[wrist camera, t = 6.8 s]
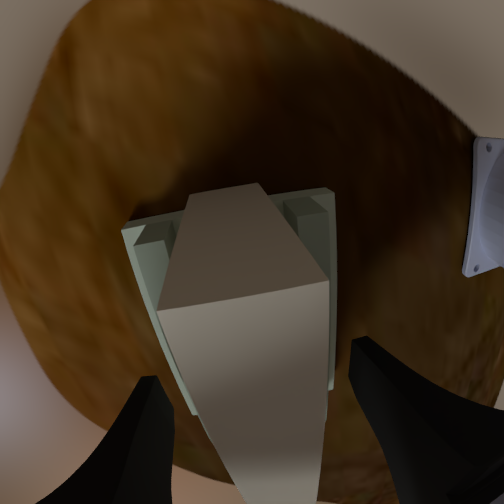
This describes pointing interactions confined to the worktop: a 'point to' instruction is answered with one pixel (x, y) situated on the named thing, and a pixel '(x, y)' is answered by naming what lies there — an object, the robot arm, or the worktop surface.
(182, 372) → the beige rectangular block
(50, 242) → the worktop surface
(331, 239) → the rack
